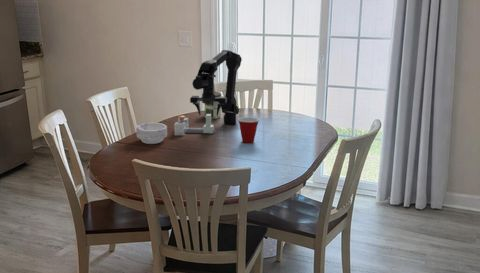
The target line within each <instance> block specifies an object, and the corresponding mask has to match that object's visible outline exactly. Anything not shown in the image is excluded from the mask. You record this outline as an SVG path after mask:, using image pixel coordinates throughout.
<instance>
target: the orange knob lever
mask: <svg viewBox="0 0 480 273" xmlns="http://www.w3.org/2000/svg"><path fill="white" fill-rule="evenodd" d="M177 118H178V119H179V122H184V118H186V116H185V115H178V116H177Z"/></svg>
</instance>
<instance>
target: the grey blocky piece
mask: <svg viewBox="0 0 480 273" xmlns="http://www.w3.org/2000/svg"><path fill="white" fill-rule="evenodd" d="M187 128H190V126H189V117H185V118H184V122H179V118H178V119H177V121H176V122H174V136H185V135H186V134H187Z"/></svg>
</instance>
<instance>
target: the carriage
mask: <svg viewBox="0 0 480 273" xmlns="http://www.w3.org/2000/svg"><path fill="white" fill-rule="evenodd" d="M202 128H203V133H202V134H212V133H213V128H214V129H215V125H214V124H212V119H211V114H206V117H205V124H204V125H203V126H202Z"/></svg>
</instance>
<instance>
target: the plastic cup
mask: <svg viewBox="0 0 480 273" xmlns="http://www.w3.org/2000/svg"><path fill="white" fill-rule="evenodd" d="M237 121H238V124H239V128H240V135H241V141H242V143H244V144H253V143H254V141H255V139H256V138H255V137H256V133H257V128H258V125H259V122H260V118H256V117H255V118H254V117H239V118H237Z"/></svg>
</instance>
